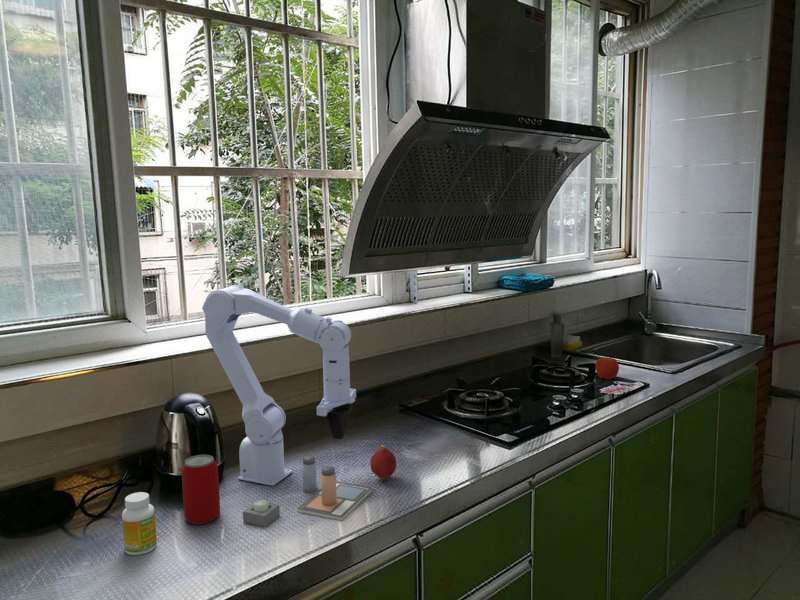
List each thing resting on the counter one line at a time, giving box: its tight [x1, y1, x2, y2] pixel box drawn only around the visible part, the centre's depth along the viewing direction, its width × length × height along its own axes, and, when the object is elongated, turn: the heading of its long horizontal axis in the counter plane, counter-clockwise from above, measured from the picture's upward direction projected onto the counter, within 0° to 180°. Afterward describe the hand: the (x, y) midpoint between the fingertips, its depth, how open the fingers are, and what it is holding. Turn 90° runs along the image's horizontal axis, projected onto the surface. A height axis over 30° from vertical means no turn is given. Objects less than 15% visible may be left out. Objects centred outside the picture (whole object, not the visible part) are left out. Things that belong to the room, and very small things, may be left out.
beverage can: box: [181, 454, 221, 525], centre depth 123 cm, size 7×7×12 cm
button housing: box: [242, 501, 281, 528], centre depth 123 cm, size 5×5×2 cm
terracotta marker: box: [320, 466, 337, 505], centre depth 128 cm, size 3×3×7 cm
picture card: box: [296, 480, 373, 521], centre depth 130 cm, size 10×14×1 cm
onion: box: [369, 445, 397, 481], centre depth 140 cm, size 6×6×8 cm
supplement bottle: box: [121, 491, 158, 556], centre depth 113 cm, size 5×5×10 cm
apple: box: [595, 356, 620, 380], centre depth 220 cm, size 8×8×8 cm
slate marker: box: [301, 455, 318, 493], centre depth 136 cm, size 3×3×7 cm
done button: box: [253, 499, 269, 513], centre depth 123 cm, size 3×3×3 cm
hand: (338, 437), depth 139 cm, fingers closed
